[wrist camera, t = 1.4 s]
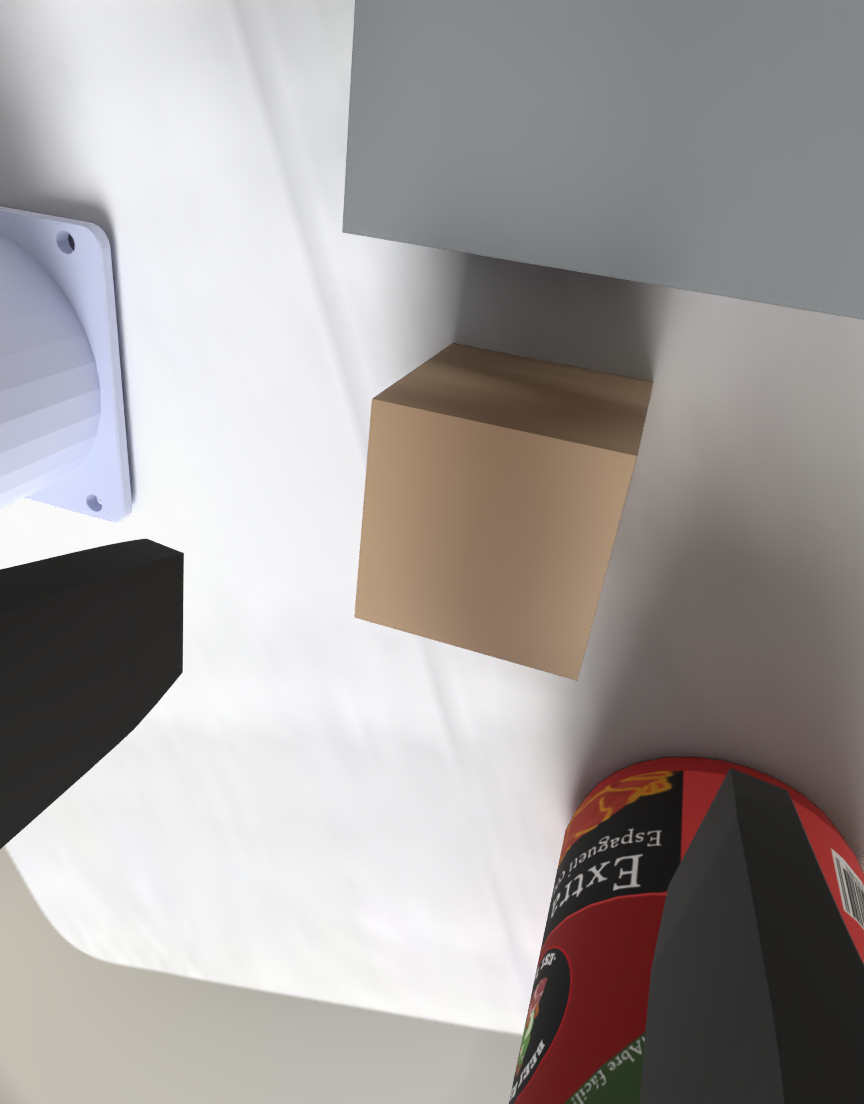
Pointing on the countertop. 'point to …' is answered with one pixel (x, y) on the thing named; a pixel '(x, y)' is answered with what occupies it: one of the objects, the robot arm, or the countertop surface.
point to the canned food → (631, 924)
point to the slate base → (619, 139)
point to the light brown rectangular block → (497, 502)
